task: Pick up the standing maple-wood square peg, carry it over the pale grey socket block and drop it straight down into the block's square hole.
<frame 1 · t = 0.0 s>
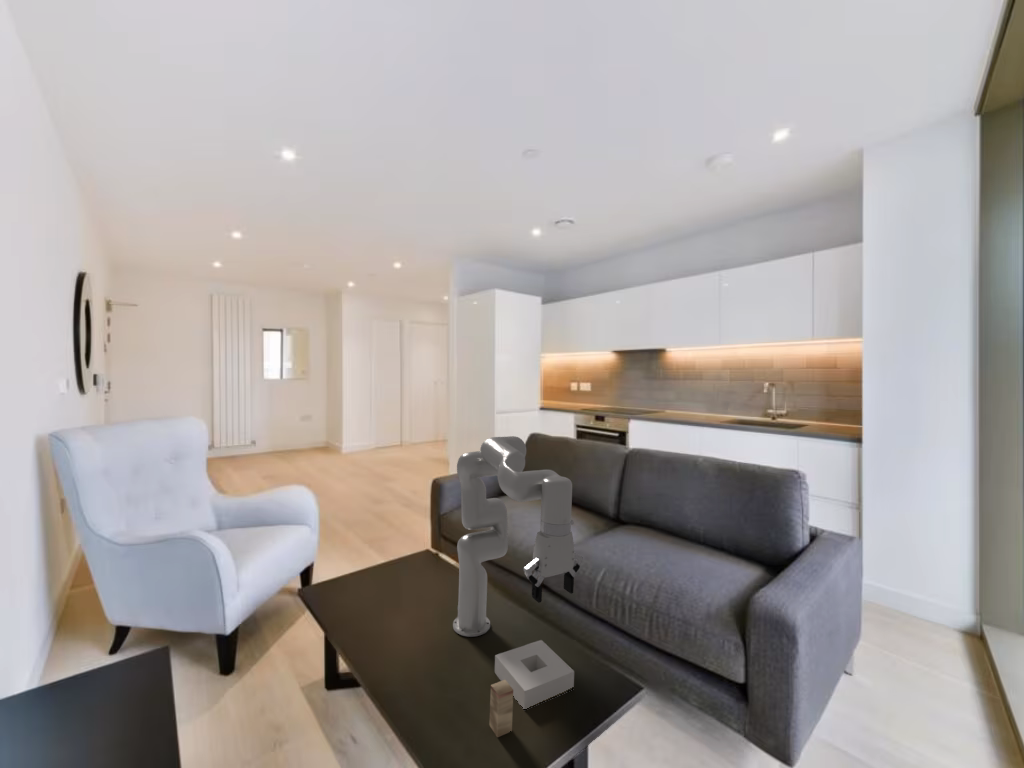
hand: (552, 595, 107), 31 cm above the table, fingers open, 9 cm apart
maple peg: (500, 728, 104), on the table
socket block: (533, 680, 121), on the table
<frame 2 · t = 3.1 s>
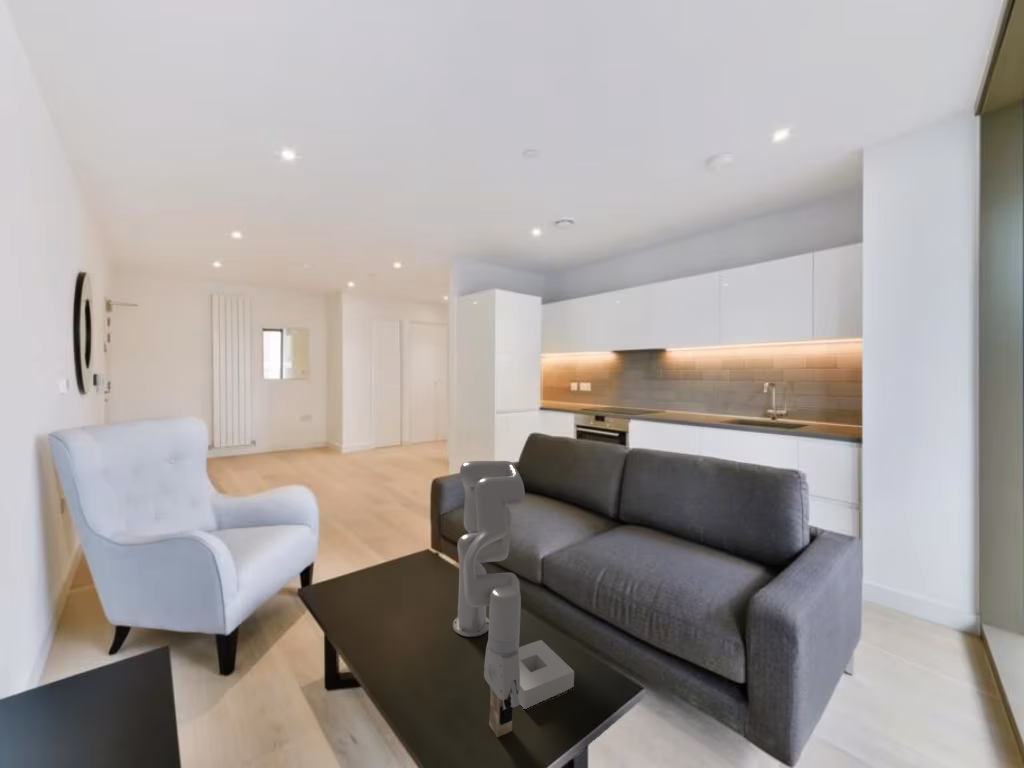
hand: (501, 714, 104), 3 cm above the table, fingers closed on maple peg, 3 cm apart
maple peg: (500, 728, 104), on the table, touching gripper
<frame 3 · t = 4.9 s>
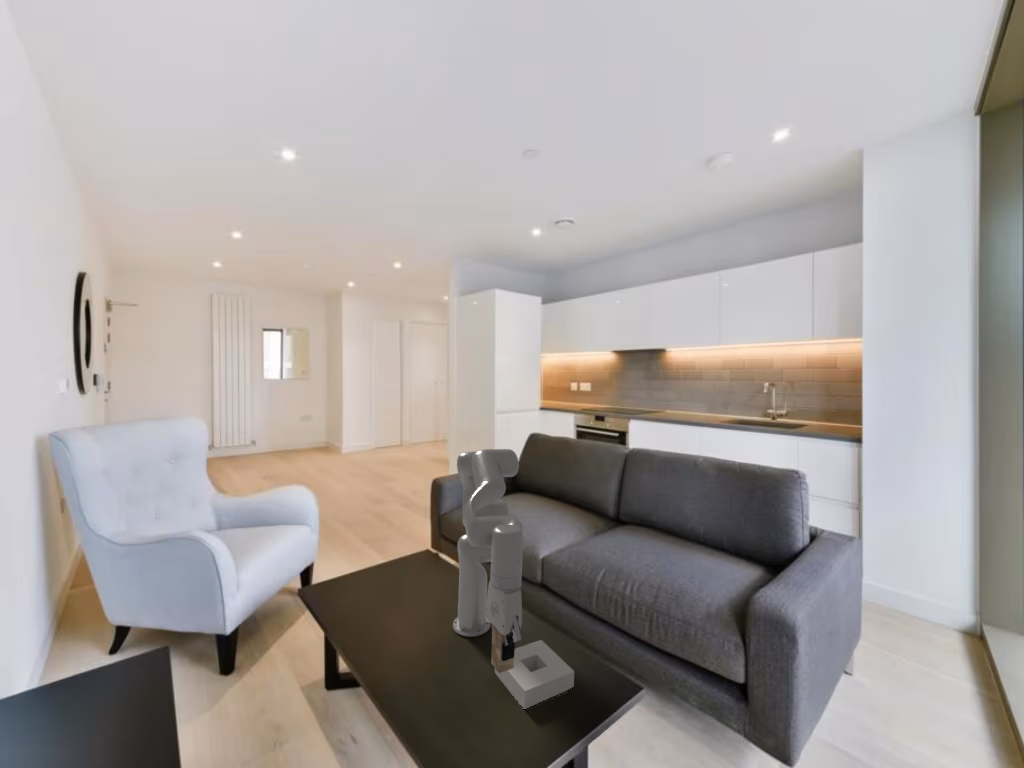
hand: (503, 652, 104), 18 cm above the table, fingers closed on maple peg, 4 cm apart
maple peg: (502, 665, 104), point 15 cm above the table, touching gripper
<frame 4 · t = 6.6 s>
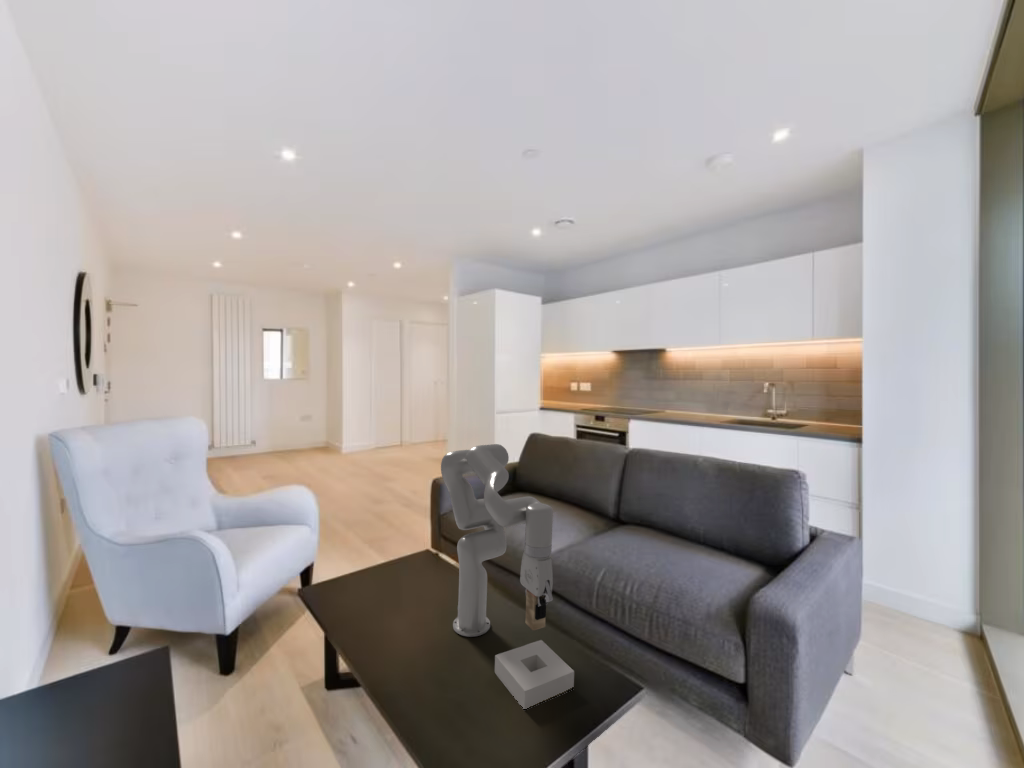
hand: (535, 613, 121), 19 cm above the table, fingers closed on maple peg, 4 cm apart
maple peg: (535, 625, 121), point 16 cm above the table, touching gripper
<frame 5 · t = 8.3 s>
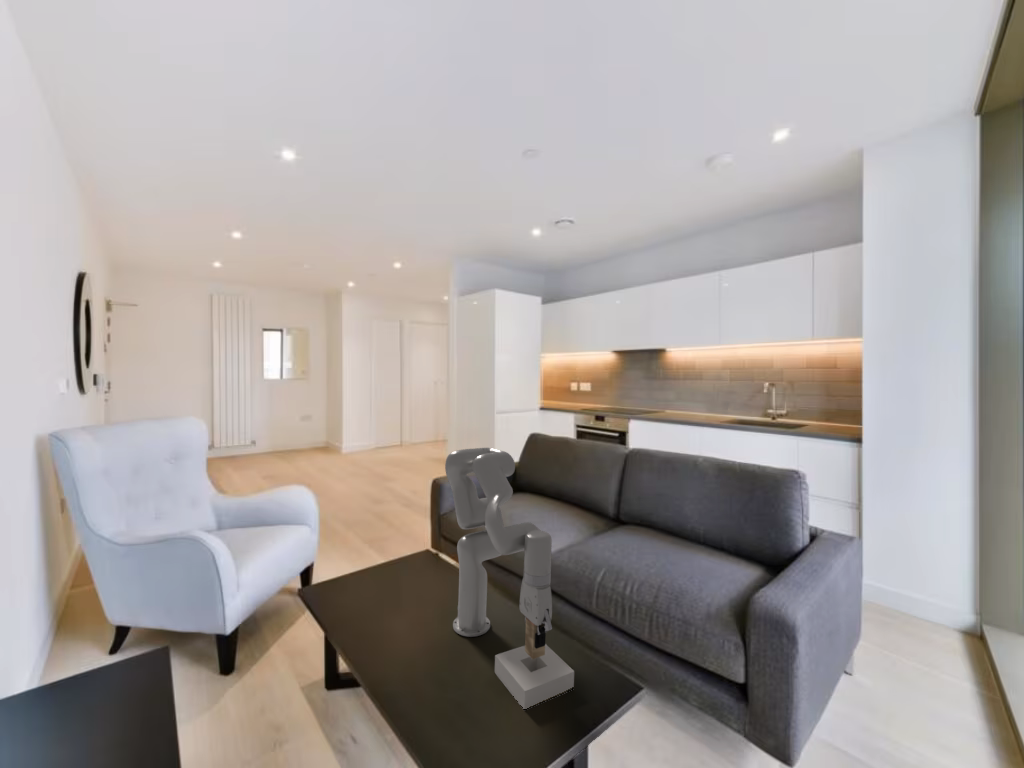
hand: (535, 641, 121), 11 cm above the table, fingers closed on maple peg, 4 cm apart
maple peg: (534, 652, 121), point 8 cm above the table, touching gripper
when the fingers open (5 cm above the table, at t = 10.0 s): maple peg drops 2 cm, resting in socket block.
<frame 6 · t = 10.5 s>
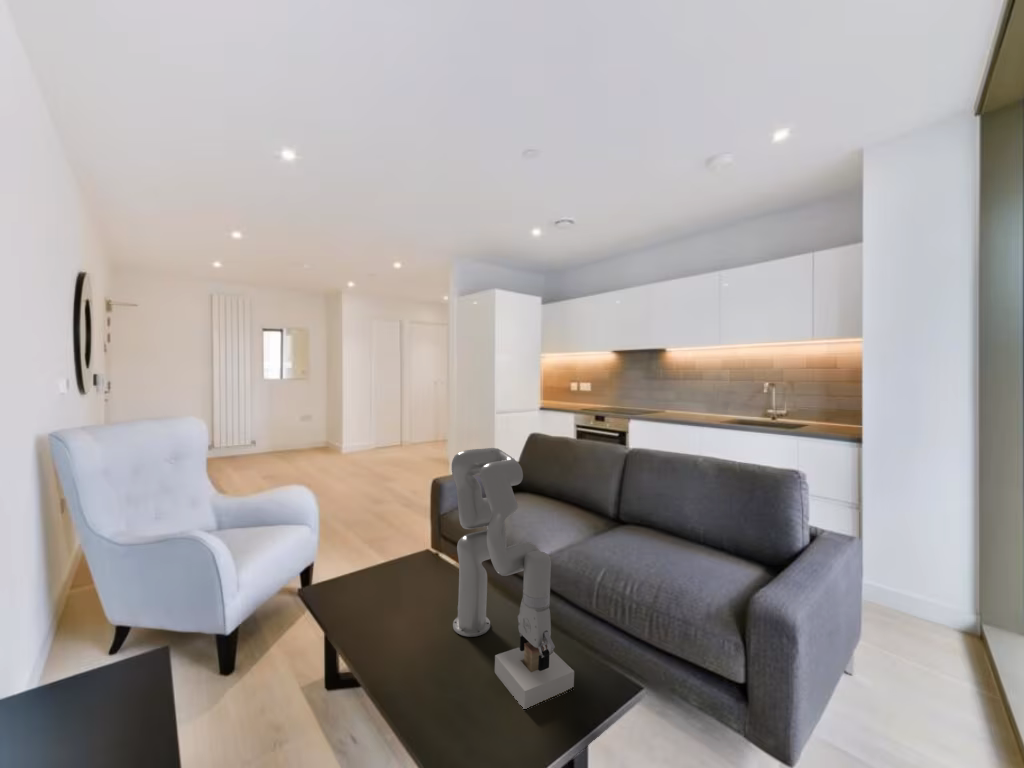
hand: (533, 658, 121), 6 cm above the table, fingers open, 9 cm apart
maple peg: (533, 680, 121), resting in socket block
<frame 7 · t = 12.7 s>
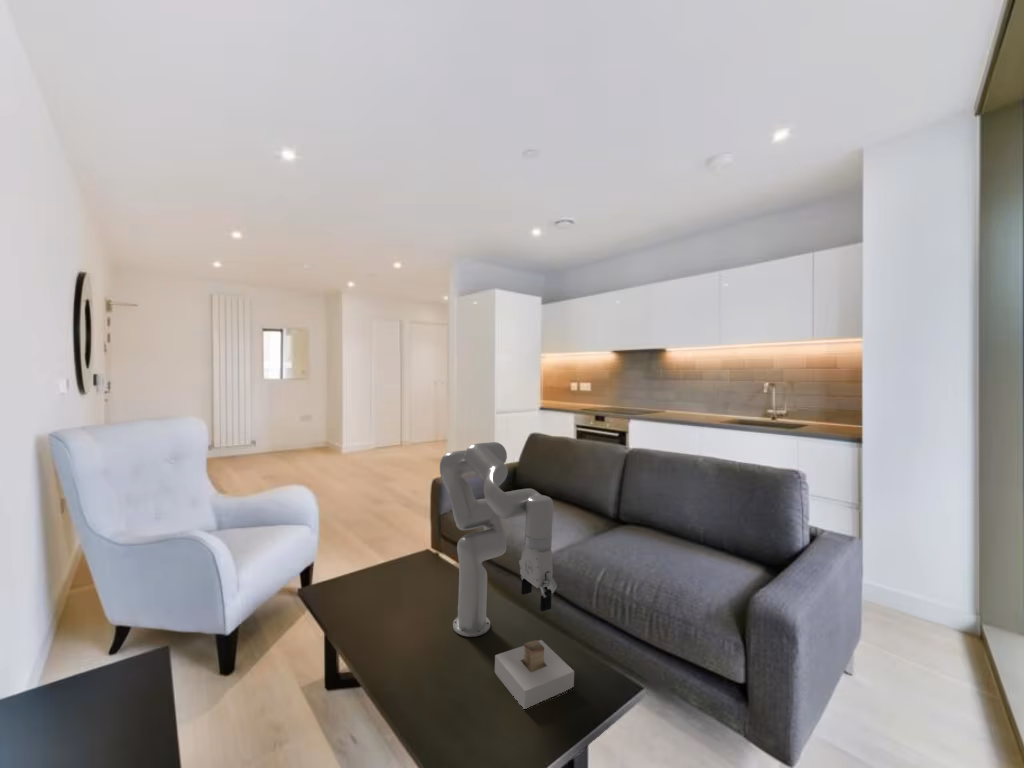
hand: (535, 601, 121), 22 cm above the table, fingers open, 9 cm apart
nothing on the table moved.
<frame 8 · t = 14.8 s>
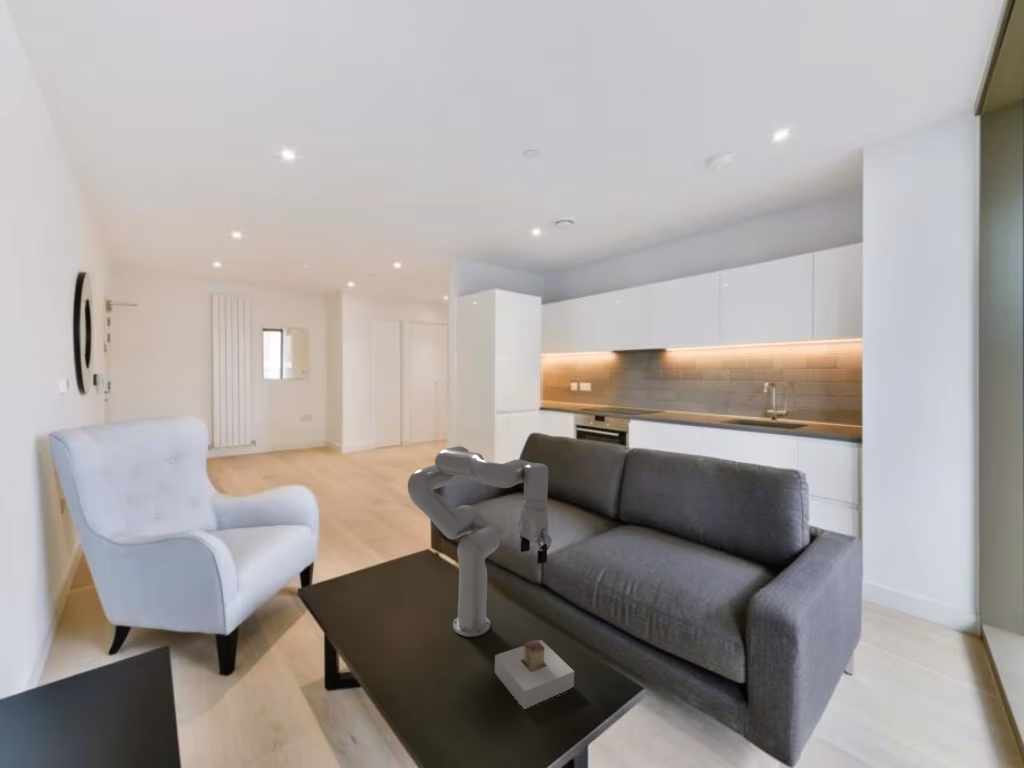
hand: (533, 556, 137), 28 cm above the table, fingers open, 9 cm apart
nothing on the table moved.
at the end: maple peg 0.1 cm off-centre on the socket block, point 0.0 cm above the socket block's base; maple peg tilted 0°; the gripper is holding nothing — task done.
